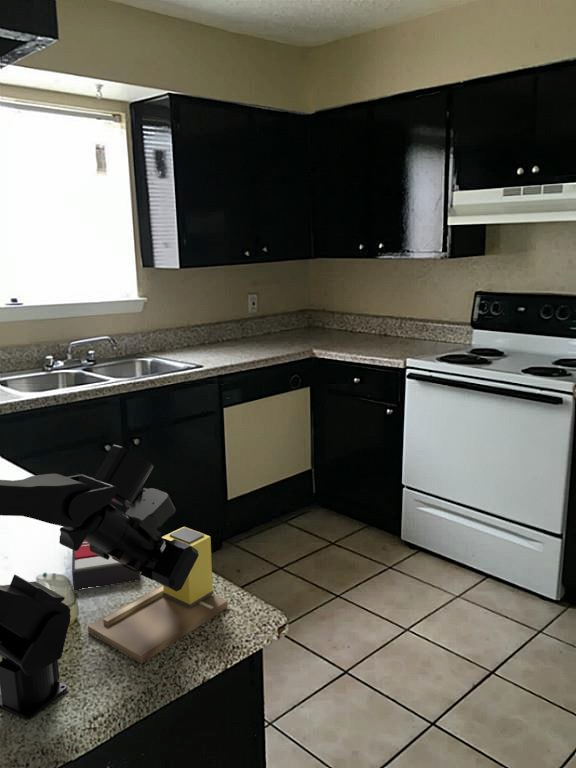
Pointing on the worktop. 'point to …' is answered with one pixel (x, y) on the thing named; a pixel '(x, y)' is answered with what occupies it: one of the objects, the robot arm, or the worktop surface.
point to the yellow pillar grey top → (193, 569)
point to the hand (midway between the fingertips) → (173, 570)
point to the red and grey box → (97, 569)
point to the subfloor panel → (153, 623)
